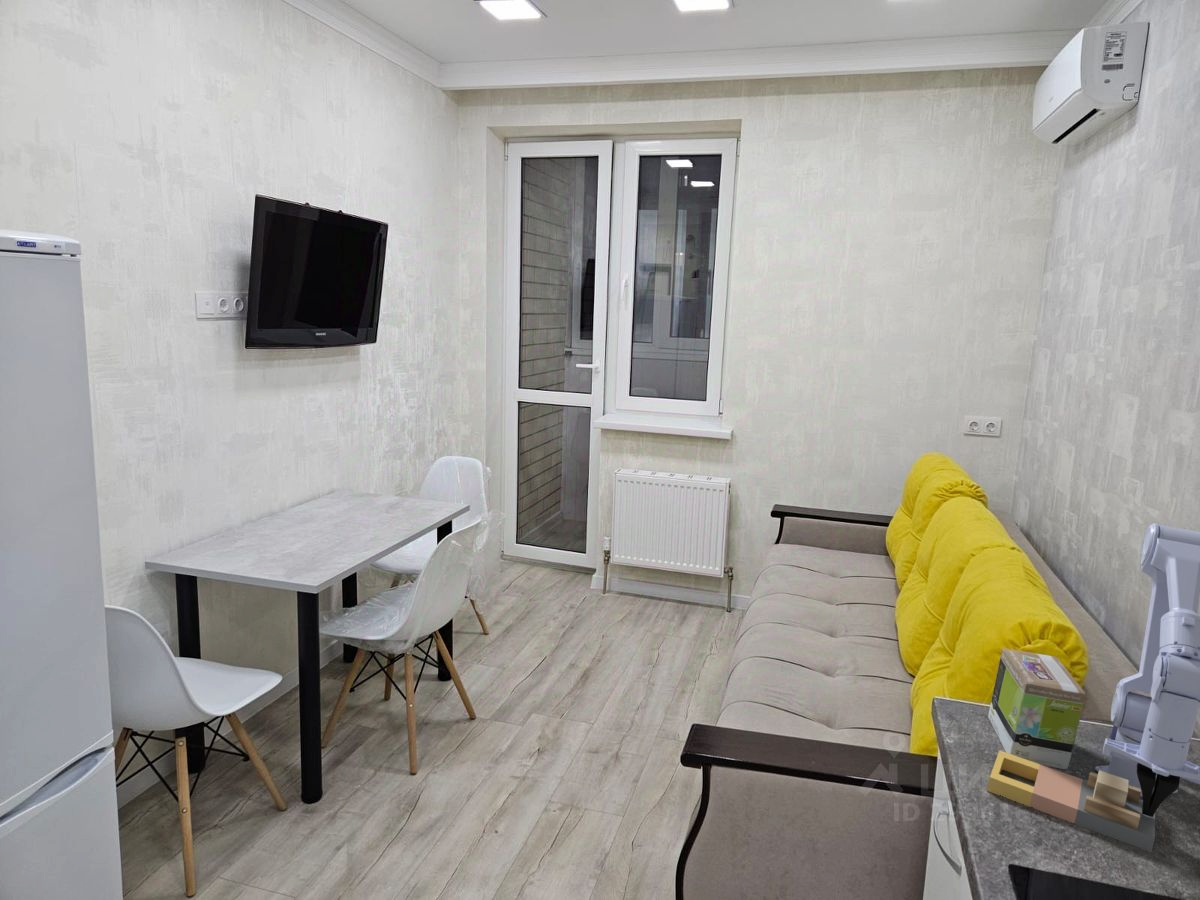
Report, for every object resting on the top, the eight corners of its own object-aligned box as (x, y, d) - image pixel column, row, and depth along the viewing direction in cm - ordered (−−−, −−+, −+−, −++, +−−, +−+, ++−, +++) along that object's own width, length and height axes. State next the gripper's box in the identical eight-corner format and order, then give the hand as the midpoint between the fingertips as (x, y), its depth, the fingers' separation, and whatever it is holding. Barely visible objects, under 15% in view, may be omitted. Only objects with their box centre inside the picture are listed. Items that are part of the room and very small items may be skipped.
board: (1151, 818, 129) (1155, 804, 128) (1151, 852, 120) (1155, 837, 120) (996, 763, 141) (999, 750, 140) (987, 790, 132) (989, 777, 132)
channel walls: (1138, 800, 129) (1141, 789, 129) (1137, 829, 122) (1140, 817, 121) (1087, 782, 133) (1090, 771, 132) (1083, 809, 125) (1086, 798, 125)
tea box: (1070, 771, 140) (1088, 693, 137) (1008, 760, 142) (1024, 683, 139) (1042, 726, 154) (1058, 654, 151) (986, 716, 156) (1000, 645, 153)
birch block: (1122, 802, 128) (1128, 780, 127) (1122, 815, 125) (1127, 792, 124) (1093, 792, 130) (1098, 770, 129) (1092, 804, 127) (1097, 781, 126)
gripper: (1110, 725, 122) (1091, 805, 125) (1230, 763, 114) (1207, 847, 117) (1112, 707, 128) (1094, 783, 131) (1226, 741, 120) (1204, 822, 123)
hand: (1147, 812), depth 124 cm, fingers closed
